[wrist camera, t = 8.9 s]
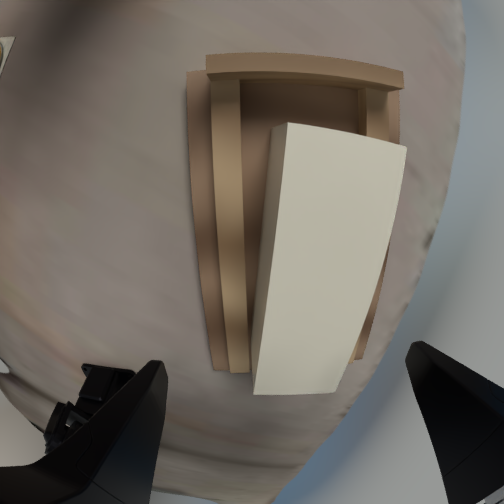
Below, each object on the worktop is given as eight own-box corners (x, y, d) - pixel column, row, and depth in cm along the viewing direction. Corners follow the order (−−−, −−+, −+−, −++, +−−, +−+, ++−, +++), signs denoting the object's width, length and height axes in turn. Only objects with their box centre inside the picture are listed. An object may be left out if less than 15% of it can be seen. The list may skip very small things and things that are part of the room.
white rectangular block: (315, 332, 20) (334, 392, 15) (250, 331, 20) (253, 394, 14) (353, 141, 15) (406, 147, 9) (271, 128, 14) (288, 122, 9)
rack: (357, 350, 23) (372, 382, 19) (214, 360, 23) (211, 397, 19) (389, 86, 14) (424, 78, 10) (190, 76, 14) (174, 58, 10)
